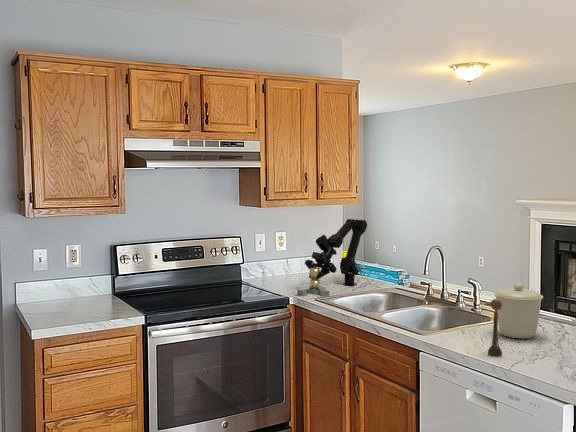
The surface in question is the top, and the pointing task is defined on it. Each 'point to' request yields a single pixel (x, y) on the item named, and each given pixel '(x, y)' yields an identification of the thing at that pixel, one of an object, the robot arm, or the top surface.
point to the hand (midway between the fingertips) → (313, 278)
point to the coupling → (314, 278)
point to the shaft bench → (305, 289)
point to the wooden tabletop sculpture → (495, 329)
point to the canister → (518, 311)
